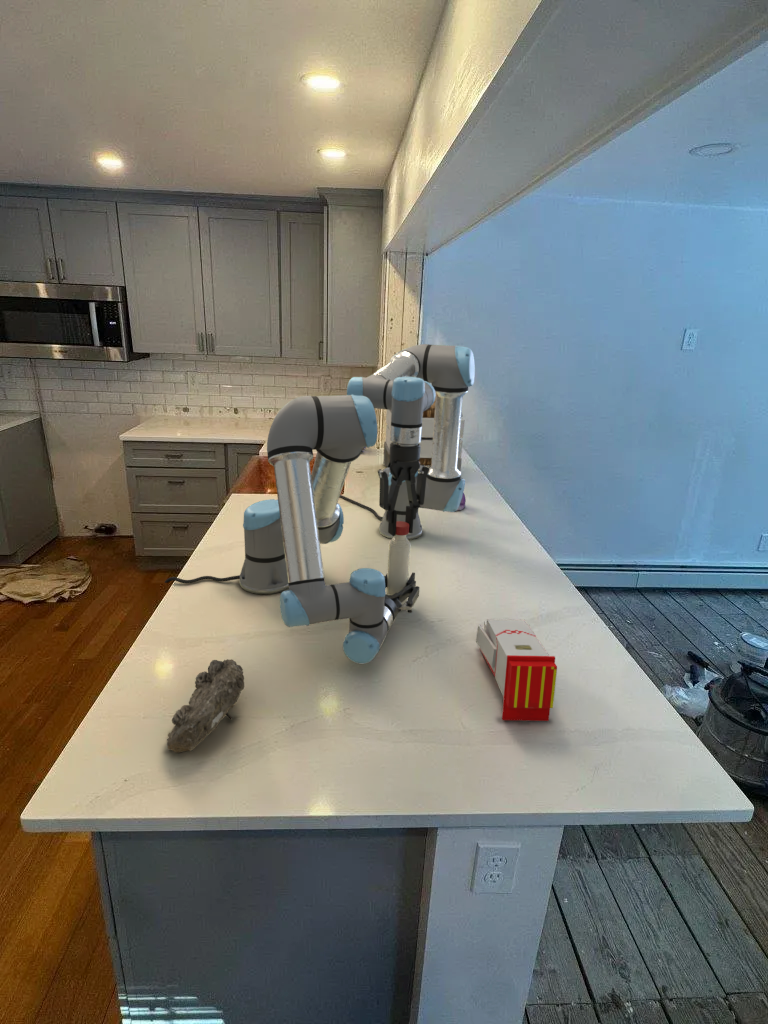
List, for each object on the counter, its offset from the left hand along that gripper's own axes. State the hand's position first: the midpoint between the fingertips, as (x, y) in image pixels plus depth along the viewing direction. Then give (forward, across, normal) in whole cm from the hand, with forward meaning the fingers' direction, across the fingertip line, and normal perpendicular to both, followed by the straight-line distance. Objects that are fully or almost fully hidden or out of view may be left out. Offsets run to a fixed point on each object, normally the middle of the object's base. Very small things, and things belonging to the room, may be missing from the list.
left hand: (402, 575), depth 155 cm
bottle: (-5, 0, -6) cm, 8 cm away
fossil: (-59, -22, -6) cm, 64 cm away
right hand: (-5, 0, +15) cm, 15 cm away
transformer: (+124, -22, -6) cm, 126 cm away
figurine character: (+154, -62, -6) cm, 166 cm away
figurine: (+80, +2, -6) cm, 80 cm away
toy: (-28, +31, -6) cm, 43 cm away
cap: (-5, 0, +16) cm, 17 cm away
